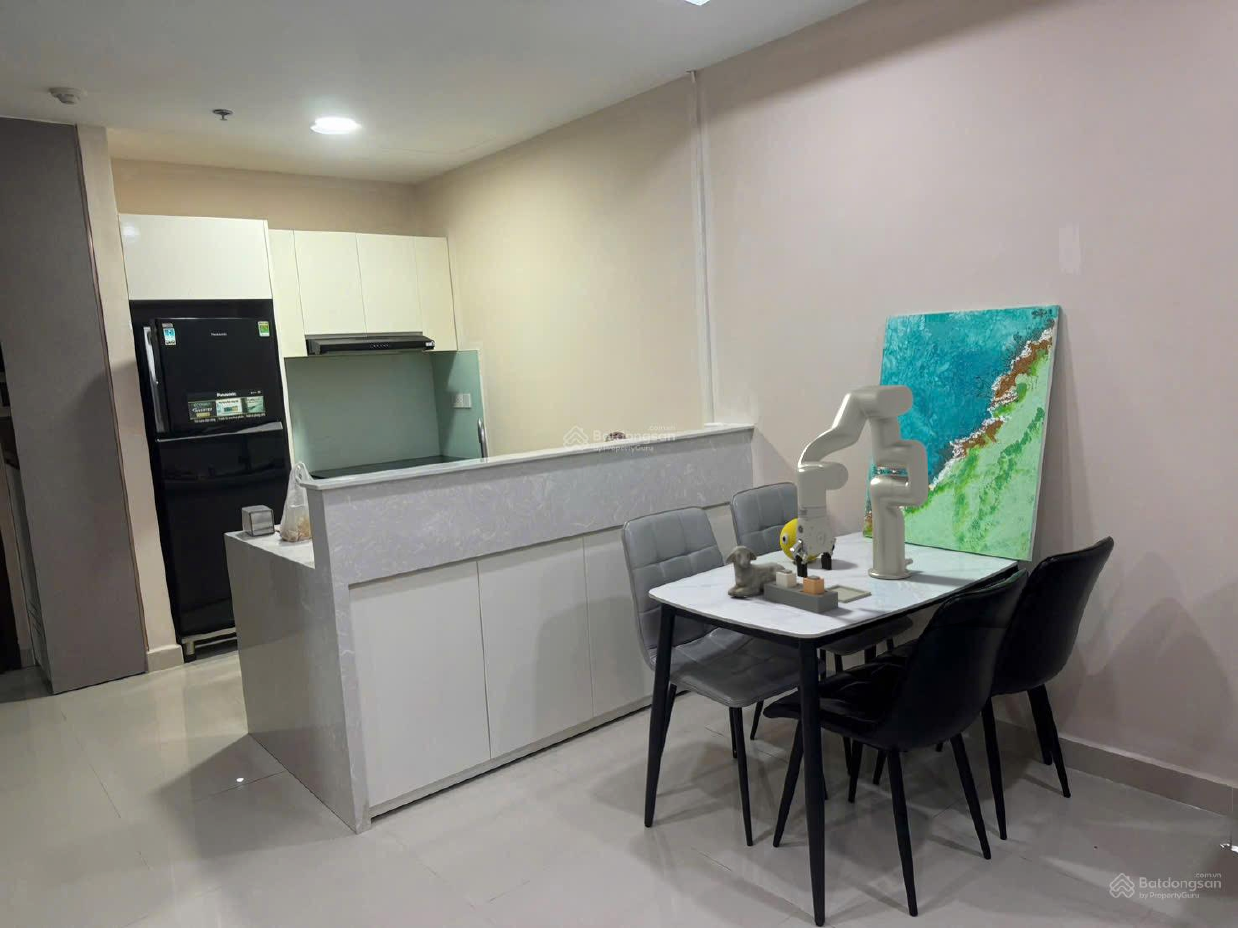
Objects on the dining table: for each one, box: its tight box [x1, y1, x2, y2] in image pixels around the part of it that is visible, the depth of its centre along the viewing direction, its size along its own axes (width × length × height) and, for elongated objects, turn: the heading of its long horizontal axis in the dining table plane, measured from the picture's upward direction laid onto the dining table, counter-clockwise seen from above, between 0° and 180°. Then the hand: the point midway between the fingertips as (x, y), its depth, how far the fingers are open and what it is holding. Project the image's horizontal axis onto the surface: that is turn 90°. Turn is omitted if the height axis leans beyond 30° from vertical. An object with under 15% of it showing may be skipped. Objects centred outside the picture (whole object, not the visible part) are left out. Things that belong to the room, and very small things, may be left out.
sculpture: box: [724, 545, 786, 598], centre depth 242 cm, size 11×21×15 cm, turn 126°
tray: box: [824, 583, 872, 604], centre depth 235 cm, size 12×12×1 cm
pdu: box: [763, 568, 839, 615], centre depth 228 cm, size 8×20×9 cm, turn 35°
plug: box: [802, 574, 825, 595], centre depth 224 cm, size 4×4×8 cm
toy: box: [779, 518, 821, 563], centre depth 275 cm, size 15×16×15 cm
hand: (814, 573), depth 223 cm, fingers open, 9 cm apart
